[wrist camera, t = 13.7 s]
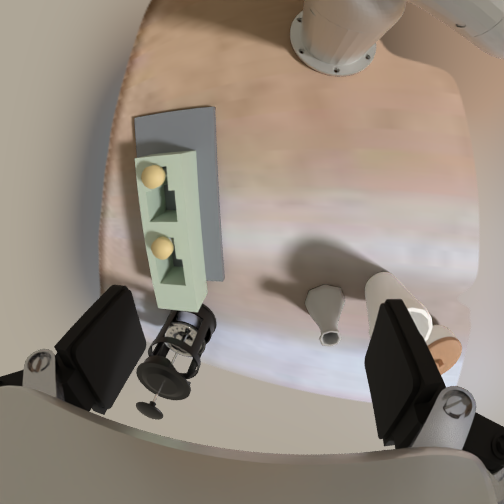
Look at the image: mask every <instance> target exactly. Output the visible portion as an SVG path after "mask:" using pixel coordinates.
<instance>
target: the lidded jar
mask: <svg viewBox="0 0 504 504" xmlns="http://www.w3.org/2000/svg"><path fill="white" fill-rule="evenodd" d="M432 326H433V328H432V330H431V333H430V335H429V338H428V339H427V341H426V344H427V346H428V348H429V350H430V352H431V354H432V357H433V359H434V361H435V363H436V365H437V368H438V370H439V372H440V374H443V373H445V372H446V371H448V370H449V369H450V368H451V367H452V366H453V365H454V364H455V363H456V362H457V360H458V359H459V357H460V355H461V351H462V346H461V343H460V342H459V340H458V339H457V338H456V336H455V335H454V334H453V332H452V331H451V330H449V329H448V328H447V327H445V326H442V325H432Z"/></svg>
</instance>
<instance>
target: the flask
mask: <svg viewBox="0 0 504 504" xmlns="http://www.w3.org/2000/svg"><path fill="white" fill-rule="evenodd" d="M344 303H345V298H344V296H343V293H342V291H341V288H339V287H334V286H330V285H322V286H319V287H317V288H314V289H311V290H309V292H308V295H307V298H306V301H305V306H306V308H307V310H308V312H309V314H310V316H311V317H312V319H313V320H314V321H315V322H316V324H317V325H318V326H319V328H320V330H321V336H320V341H321V344H322V345H324V346H333V345H336V344H338V343H339V341H340V339H341V336H340V333H339V331H338V321H339V318H340V315H341V312H342V309H343V306H344Z"/></svg>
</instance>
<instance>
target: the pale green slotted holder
mask: <svg viewBox="0 0 504 504" xmlns="http://www.w3.org/2000/svg"><path fill="white" fill-rule="evenodd" d="M152 165H159V166H161V167H165V166H166V167H167V178H165V181H164V183H163V184H162V185H161V186H159V187H157V188H155V189H149V188H147V187H145V186H144V184H143V183H142V179H141V175H142V172H143V170H144V169H145V168H146V167H148V166H152ZM135 168H136V178H137V187H138V196H139V204H140V212H141V219H142V226H143V232H144V239H145V245H146V251H147V256H148V262H149V267H150V272H151V277H152V282H153V287H154V292H155V296H156V301H157V305H158V308H162V309H170V310H179V311H189V312H198V311H199V309H200V307H201V305H202V303H203V301H204V299H205V297H206V295H207V293H208V291H207V282H206V273H205V263H204V253H203V242H202V231H201V219H200V206H199V192H198V176H197V158H196V150H195V151H182V152H170V153H159V154H152V155H148V156H143V157H139V158H135ZM166 184H168V191H172V190H175V201H176V210H166V202H165V191H164V185H166ZM161 236H163V237H167V238H174V245H175V252H176V259H182V262H183V267H177V266H174V264H173V258H172V254H171V255H170V256H169V257H168V258H167V259H164V260H161V259H158V258H156V257H155V256H154V255H153V253H152V251H151V245H152V243H153V242H154V241H155V240H156V239H157V238H158V237H161Z"/></svg>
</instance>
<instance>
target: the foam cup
mask: <svg viewBox="0 0 504 504" xmlns="http://www.w3.org/2000/svg"><path fill="white" fill-rule="evenodd" d="M365 298H366V305H367V312H368V320H369V328H370V329H369V335H370V338H371V337H372V333H373V330H374V326H375V322H376V319H377V315H378V311H379V307H380V305H381V303H385V301H386V300H387V299H402V300H403V302H404V304H405V306H406V307H407V309H408V311H409V313H410V315H411V317H412V319H413V321H414V323H415V325H416V327H417V329H418V331H419V333H420V334H421V335H422V336H423V338H424V340H425V342H426V341H427V339H428V338H429V335H430V333H431V330H432V328H433V326H432V318H431V316H430V314H429V312H428V311H427V309H426V307H425V306H424V305H423V304H422V303H421V302H420V301H419V300H417V299H416V298H415V297H414V296H413V295H412V294H411V293H410V292H409V291H408V290H407V289H406V288H405V286H404V285H403V284H402V283H401V282H400V281H399V280H398V279H397V278H396V277H395V276H394V275H393V274H392V273H388V272H380V273H376V274H375V275H374V276H372V277H371V278H370V279H369V280H368V282H367V283H366V286H365Z"/></svg>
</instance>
